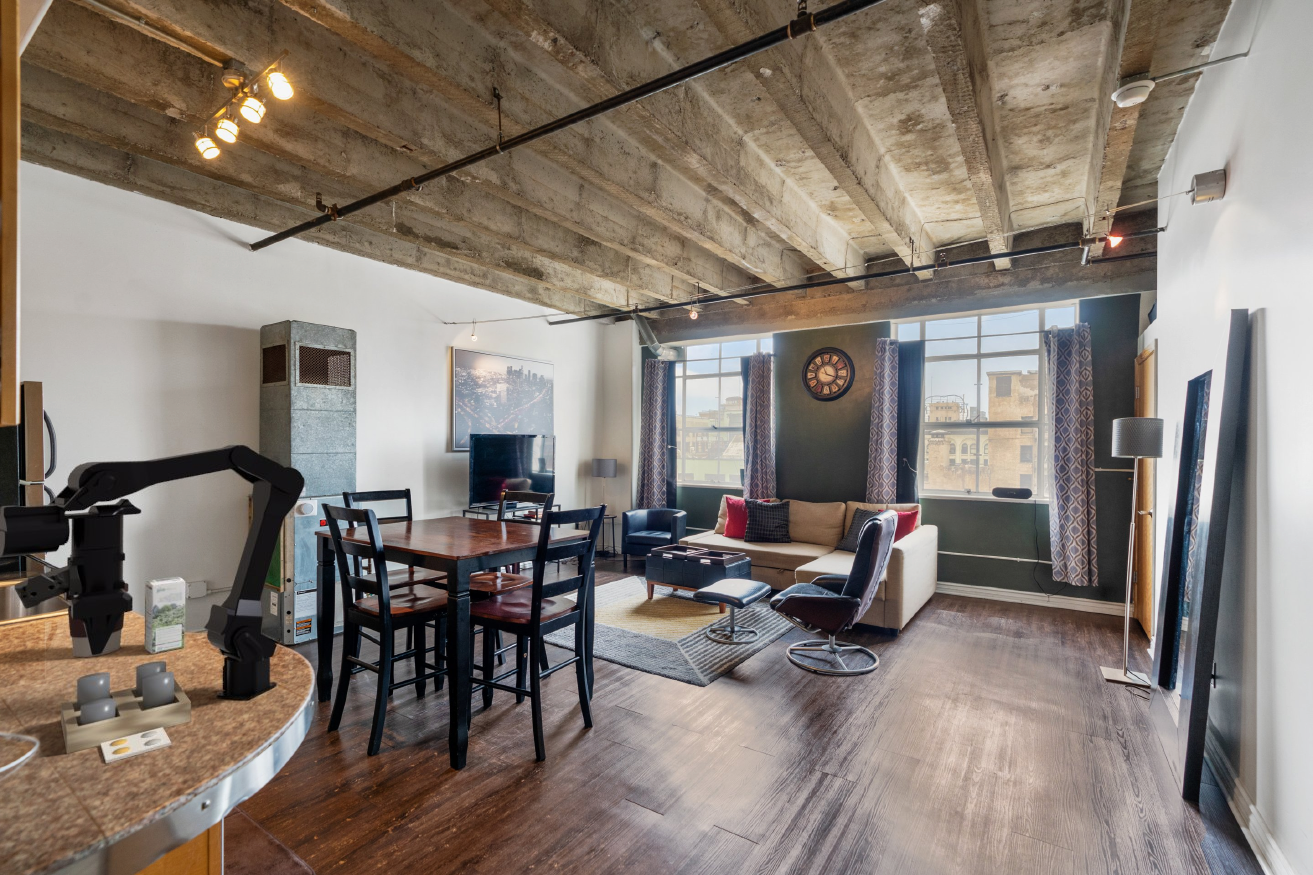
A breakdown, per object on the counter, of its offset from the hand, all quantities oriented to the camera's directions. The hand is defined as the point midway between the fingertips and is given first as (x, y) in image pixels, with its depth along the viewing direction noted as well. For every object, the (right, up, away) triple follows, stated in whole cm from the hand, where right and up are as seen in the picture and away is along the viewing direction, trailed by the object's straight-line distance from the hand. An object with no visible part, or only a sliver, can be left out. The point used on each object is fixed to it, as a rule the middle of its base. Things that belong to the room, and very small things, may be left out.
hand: (96, 653), depth 92 cm
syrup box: (-21, -13, +40) cm, 47 cm away
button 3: (0, -9, +10) cm, 14 cm away
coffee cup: (-34, -13, +38) cm, 53 cm away
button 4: (+5, -9, +5) cm, 12 cm away
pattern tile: (+8, -12, -3) cm, 15 cm away
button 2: (0, -11, 0) cm, 11 cm away
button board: (0, -12, +5) cm, 13 cm away
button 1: (-5, -9, +5) cm, 12 cm away
